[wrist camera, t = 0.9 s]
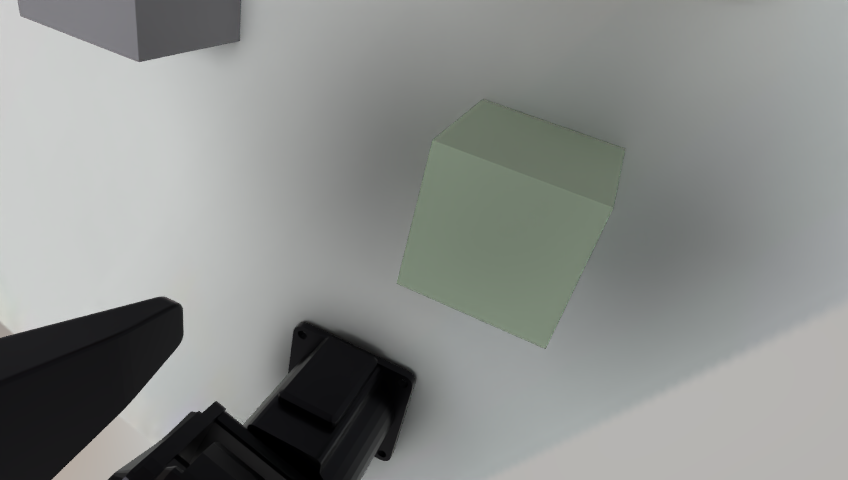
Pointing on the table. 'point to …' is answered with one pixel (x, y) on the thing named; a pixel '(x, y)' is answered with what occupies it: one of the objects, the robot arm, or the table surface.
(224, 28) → the charcoal cube
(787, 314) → the table surface
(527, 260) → the sage cube
